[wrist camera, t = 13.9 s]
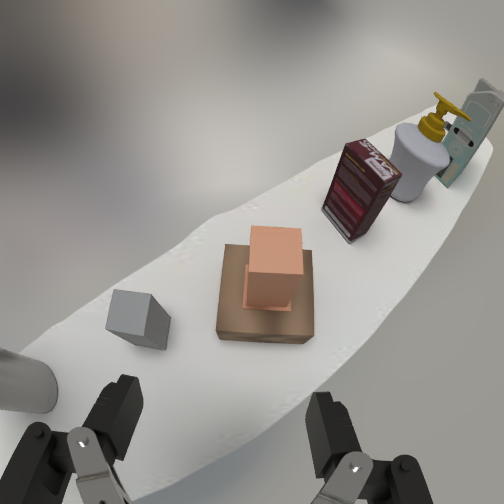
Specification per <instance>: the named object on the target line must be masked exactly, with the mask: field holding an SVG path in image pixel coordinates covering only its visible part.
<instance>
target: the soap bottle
mask: <svg viewBox="0 0 504 504" xmlns="http://www.w3.org/2000/svg"><path fill="white" fill-rule="evenodd" d="M434 95H435V96H436V97H437V98H438V99H439V100H440V101H439V103H438V105H437V107H436V110H437V111H436V113H432V112H431V113H429V114H428V116H427V117H426V116H424V117H422V118H421V120H420V122H419V124H418V125H415V124H412V123H402V124H399V125H397V127H396V130H395V141H394V147H393V151H392V155H391V157H390V159H389V161H390V162H391V163H392V164H393V165H394V166H395V167H396V168H397V169H398V170H399V171H400V172H401V173H402V174H403V175H402V177H401V178H400V180H399V182H398V183H397V185H396V187H395V189H394V190H393V192H392V194H391V196H392V197H393V198H395V199H397V200H399V201H403V202H407V201H412V200H414V199H415V198H416V197H417V196H418V195H419V194H420V192H421V191H422V189H423V188H424V187H425V185H426V184H427V182H428V181H429V180H430V179H431V178H432V177H433V176H434V175H435V174H436V173H438V172H439V171H441V170H442V169H444V168H446V167H447V166H448V165H449V163H450V157H449V154H448V152H447V150H446V148H445V146H444V145H443V144H442V142H441V141H442V139H443V137H444V136H445V130H444V126H445V121H444V120H443V119H442V117H443V115H446V114H447V112H450V113H452V114H454V115H457V116H460V117H462V118H464V119H466V120H467V121H469V122H470V121H471V118H470V117H469V116H468V115H467V114H465V113H464V112H463V111H461V110H460V109H458V108H457V107H455V106H454V105H453V104H452V103H450V102H449V101H447V100H446V99H444V98H443V97H441V96H440V95H439V94H438V93H436V92H435V93H434Z"/></svg>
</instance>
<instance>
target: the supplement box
mask: <svg viewBox="0 0 504 504" xmlns="http://www.w3.org/2000/svg"><path fill="white" fill-rule="evenodd" d="M402 175H403V174H402V173H401V172H400V171H399V170H398V169H397V168H396V167H395V166H394V165H393V164H392V163H391V162H390V161H389V160H388V159H387V158H386V157H385V156H384V155H382V154H381V153H380V152H379V151H378V150H377V149H376V148H375V147H374V146H373V145H372V144H371V143H369V142H368V141H367V140H366V139H362V140H358V141H354V142H350V143H346V144H345V146H344V149H343V152H342V155H341V158H340V160H339V163H338V166H337V169H336V172H335V174H334V177H333V180H332V183H331V186H330V188H329V191H328V194H327V196H326V199H325V202H324V204H323V207H322V211H323V212H324V214H325V215H326V216H327V217H328V218H329V220H330V221H331V222H332V223H333V225H334V226H335V227H336V228H337V230H338V231H339V232H340V233H341V235H342V236H343V237H344V238H345V240H346V241H347V242H348V243H349V244H350V243H351V242H353V241H355V240H357V239H358V238H360V237H362V236H363V235H365V234H366V233H367V231H368V230H369V228H370V227H371V225H372V224H373V222H374V221H375V219H376V218H377V216H378V214H379V213H380V211H381V210H382V208H383V206H384V205H385V203H386V202H387V200H388V198H389V197H390V195H391V194H392V192H393V190H394V189H395V187H396V185H397V183H398V182H399V180H400V178H401V177H402Z"/></svg>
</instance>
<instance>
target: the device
mask: <svg viewBox="0 0 504 504" xmlns="http://www.w3.org/2000/svg"><path fill="white" fill-rule="evenodd" d="M503 106H504V92H502V91H501V90H498V89H496V88H495V87H494V86H493V85H491V84H490V83H489V82H487V81H486V80H485V79H484V78H480V79H479V81H478V83H477V85H476V87H475V90H474V92H472V93H470V94H469V95H468V96H467V98H466V100H465V102H464V104H463V106H462V108H461V111H463V112H464V113H465V114H467V115H468V116H469V117H470V118H471V121H470V122H469V121H467V120H466V119H464V118H462V117H460V116H457V117H456V119H455V121H454V123H453V125H452V126H451V128H450V130H449V132H448V134H447V135H446V137H445V139H444V141H443V142H442V144H443V145H444V146H445V148H446V150H447V152H448V154H449V157H450V163H449V165H448V166H447V167H446V168H444V169H442V170H441V171H439V172H438V173H436V174H435V176H436V177H437V178H438V179H439V180H440V181H441V182H442V183H443V184H444V185H445V186H446V187H447V188H448V187H449V186H450V185H451V184H452V183H453V182H454V180H455V179H456V178H457V177H458V176H459V175H460V173H461V172H462V171H463V170H464V168H465V167H466V165H467V164H468V163H469V161H470V160H471V158H472V157H473V155H474V154H475V152H476V151H477V149H478V148H479V146H480V145H481V143H482V142H483V140H484V139H485V137H486V135H487V134H488V132H489V130H490V129H491V127H492V125H493V124H494V122H495V121H496V119H497V117H498V115H499V114H500V112H501V110H502V108H503Z"/></svg>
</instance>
